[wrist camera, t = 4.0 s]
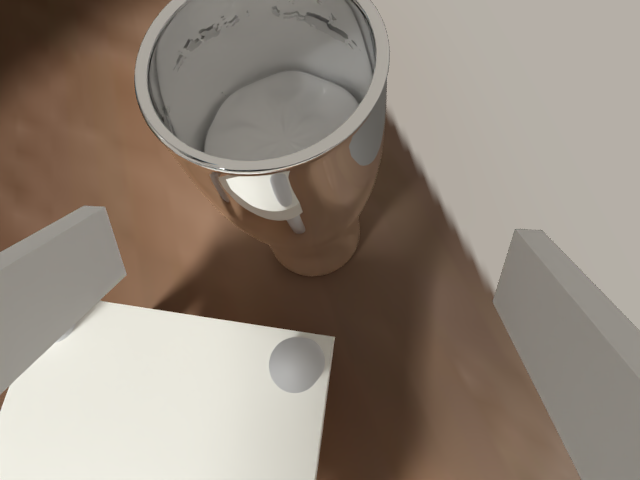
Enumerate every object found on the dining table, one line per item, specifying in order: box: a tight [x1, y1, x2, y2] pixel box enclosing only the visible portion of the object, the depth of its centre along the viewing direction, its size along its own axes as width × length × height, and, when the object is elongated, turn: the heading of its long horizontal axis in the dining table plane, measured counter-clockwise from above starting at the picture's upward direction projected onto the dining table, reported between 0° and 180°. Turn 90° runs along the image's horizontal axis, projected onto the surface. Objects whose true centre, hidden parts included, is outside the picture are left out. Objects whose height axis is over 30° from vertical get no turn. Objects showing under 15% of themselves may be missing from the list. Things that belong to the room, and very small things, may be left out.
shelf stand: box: [0, 301, 335, 480], centre depth 16 cm, size 13×13×10 cm
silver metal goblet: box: [134, 0, 390, 276], centre depth 16 cm, size 7×7×15 cm
